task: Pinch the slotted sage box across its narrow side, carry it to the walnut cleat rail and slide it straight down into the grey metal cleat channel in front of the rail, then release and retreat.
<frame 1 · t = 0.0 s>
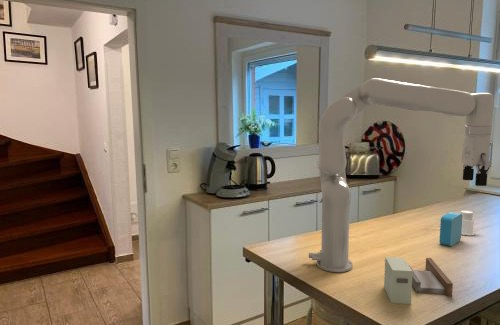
hand: (474, 182, 127), 31 cm above the table, fingers open, 9 cm apart
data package: (450, 242, 160), on the table
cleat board: (425, 283, 123), on the table
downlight: (465, 233, 171), on the table
slotted sage box: (396, 295, 115), on the table
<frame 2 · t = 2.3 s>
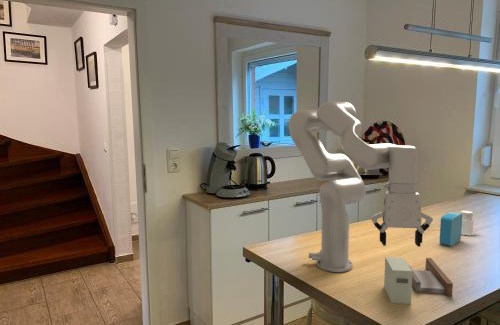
hand: (400, 244, 113), 16 cm above the table, fingers open, 9 cm apart
nothing on the table moved.
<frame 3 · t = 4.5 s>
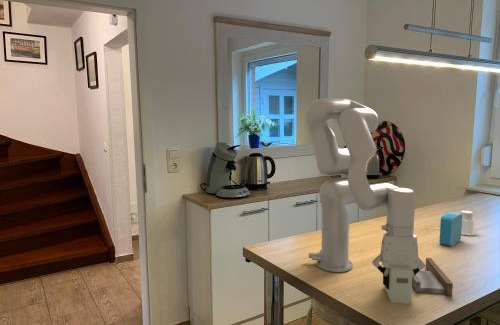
hand: (397, 286, 115), 3 cm above the table, fingers closed on slotted sage box, 5 cm apart
slotted sage box: (396, 294, 115), on the table, touching gripper
everything else where it was.
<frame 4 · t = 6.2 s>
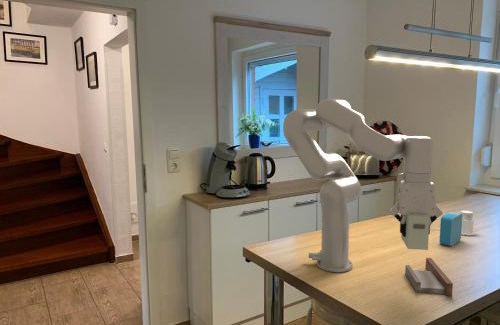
hand: (414, 235, 116), 18 cm above the table, fingers closed on slotted sage box, 5 cm apart
slotted sage box: (413, 243, 116), point 15 cm above the table, touching gripper
everything else where it was.
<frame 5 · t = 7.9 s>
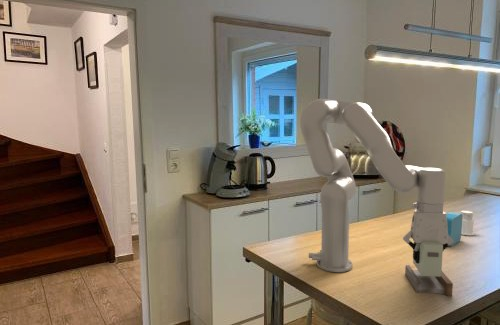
hand: (426, 261, 122), 7 cm above the table, fingers closed on slotted sage box, 5 cm apart
slotted sage box: (426, 269, 122), point 5 cm above the table, touching gripper
everything else where it was.
when the fingers open (5 cm above the table, at t = 9.2 s): slotted sage box stays where it is, resting on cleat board.
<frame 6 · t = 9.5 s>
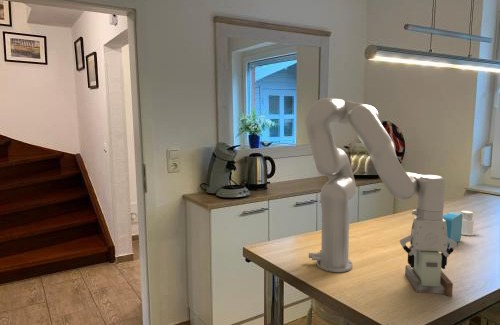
hand: (426, 266, 122), 6 cm above the table, fingers open, 9 cm apart
slotted sage box: (425, 279, 122), point 1 cm above the table, touching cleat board
everything else where it was.
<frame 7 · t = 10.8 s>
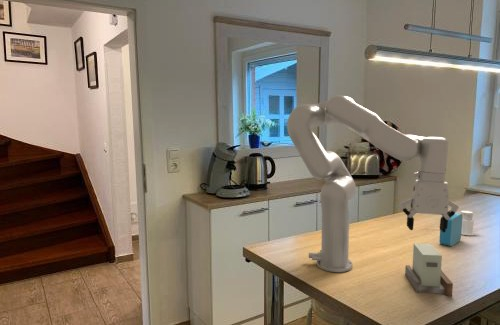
hand: (426, 229, 121), 18 cm above the table, fingers open, 9 cm apart
nothing on the table moved.
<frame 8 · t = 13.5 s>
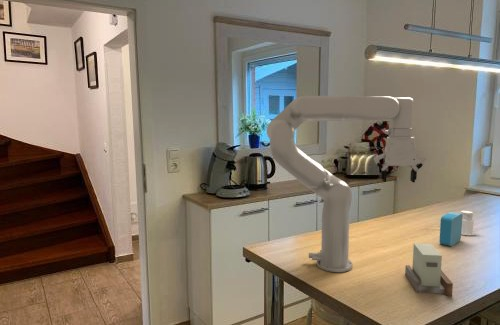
hand: (398, 181, 135), 30 cm above the table, fingers open, 9 cm apart
nothing on the table moved.
at the end: slotted sage box 0.2 cm off-centre on the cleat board, point 1.5 cm above the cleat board's base; slotted sage box tilted 0°; the gripper is holding nothing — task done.
